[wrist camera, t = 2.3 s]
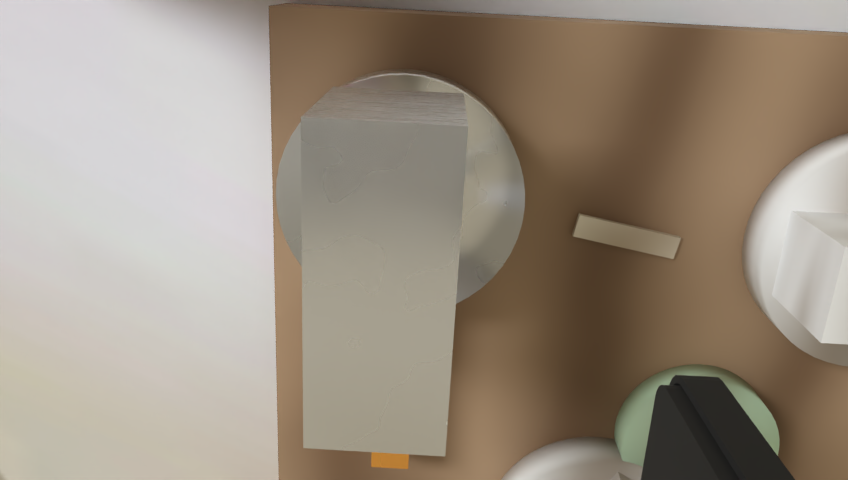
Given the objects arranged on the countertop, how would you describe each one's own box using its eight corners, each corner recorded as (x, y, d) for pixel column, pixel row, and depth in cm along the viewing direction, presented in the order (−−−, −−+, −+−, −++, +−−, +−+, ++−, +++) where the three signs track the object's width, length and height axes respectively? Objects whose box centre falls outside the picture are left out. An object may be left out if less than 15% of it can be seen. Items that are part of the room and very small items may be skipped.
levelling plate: (993, 40, 23) (1216, 65, 16) (836, 564, 30) (947, 731, 23) (287, 3, 23) (222, 12, 16) (293, 530, 30) (250, 686, 23)
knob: (284, 62, 21) (189, 111, 13) (531, 75, 21) (580, 132, 13) (290, 435, 25) (220, 639, 17) (495, 448, 25) (516, 658, 17)
